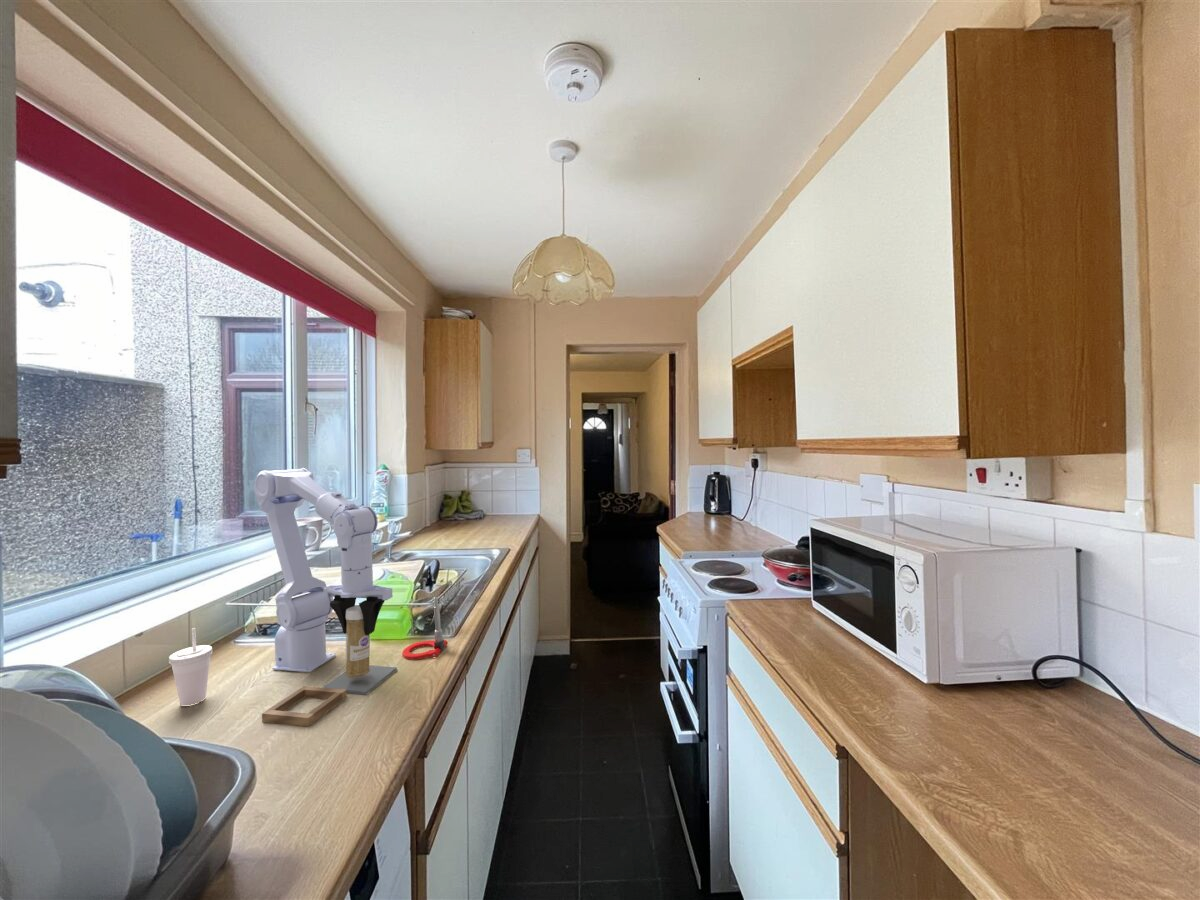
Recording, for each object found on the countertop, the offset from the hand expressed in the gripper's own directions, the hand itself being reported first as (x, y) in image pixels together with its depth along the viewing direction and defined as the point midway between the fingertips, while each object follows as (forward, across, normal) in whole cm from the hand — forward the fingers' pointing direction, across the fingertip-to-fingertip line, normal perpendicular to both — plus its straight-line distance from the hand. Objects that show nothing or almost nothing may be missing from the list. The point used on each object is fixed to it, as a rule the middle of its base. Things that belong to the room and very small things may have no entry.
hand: (359, 632), depth 98 cm
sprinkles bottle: (+8, 0, -1) cm, 9 cm away
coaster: (+10, 0, 0) cm, 10 cm away
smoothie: (+10, -27, -12) cm, 31 cm away
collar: (+10, -3, -11) cm, 15 cm away
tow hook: (+10, +6, +14) cm, 18 cm away
